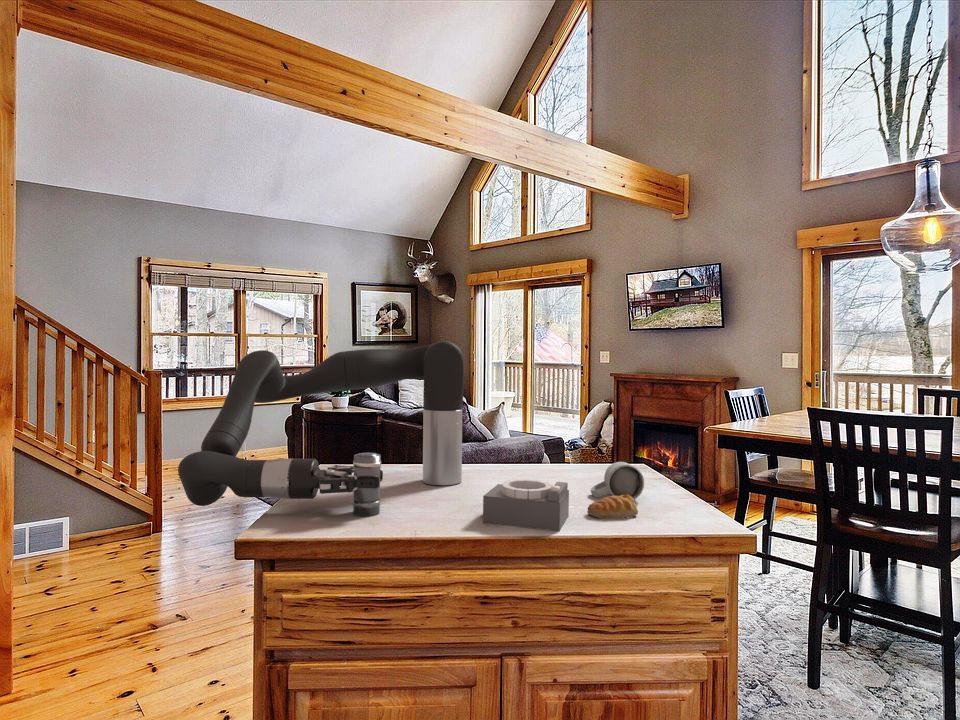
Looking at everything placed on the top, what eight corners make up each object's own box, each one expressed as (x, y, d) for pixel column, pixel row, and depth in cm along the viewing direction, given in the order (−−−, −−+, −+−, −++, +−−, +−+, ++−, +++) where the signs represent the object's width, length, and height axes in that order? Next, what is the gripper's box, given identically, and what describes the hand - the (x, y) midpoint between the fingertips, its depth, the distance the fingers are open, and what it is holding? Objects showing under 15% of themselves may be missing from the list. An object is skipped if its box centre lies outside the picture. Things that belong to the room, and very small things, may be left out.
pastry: (599, 522, 111) (599, 502, 111) (579, 513, 117) (580, 494, 117) (641, 517, 115) (641, 497, 115) (619, 509, 121) (619, 490, 121)
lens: (360, 508, 118) (361, 451, 118) (384, 510, 116) (385, 453, 116) (347, 514, 113) (348, 455, 113) (372, 517, 111) (373, 457, 111)
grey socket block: (497, 509, 118) (498, 472, 118) (568, 516, 114) (569, 477, 114) (482, 523, 109) (483, 483, 109) (559, 531, 105) (560, 489, 105)
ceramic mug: (635, 492, 134) (635, 458, 134) (644, 501, 126) (644, 465, 126) (587, 492, 134) (587, 458, 134) (593, 501, 126) (593, 465, 126)
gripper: (300, 489, 121) (385, 489, 122) (279, 508, 107) (376, 508, 108) (300, 452, 121) (385, 452, 122) (280, 466, 107) (376, 466, 107)
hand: (380, 478), depth 115 cm, fingers closed on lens, 5 cm apart
